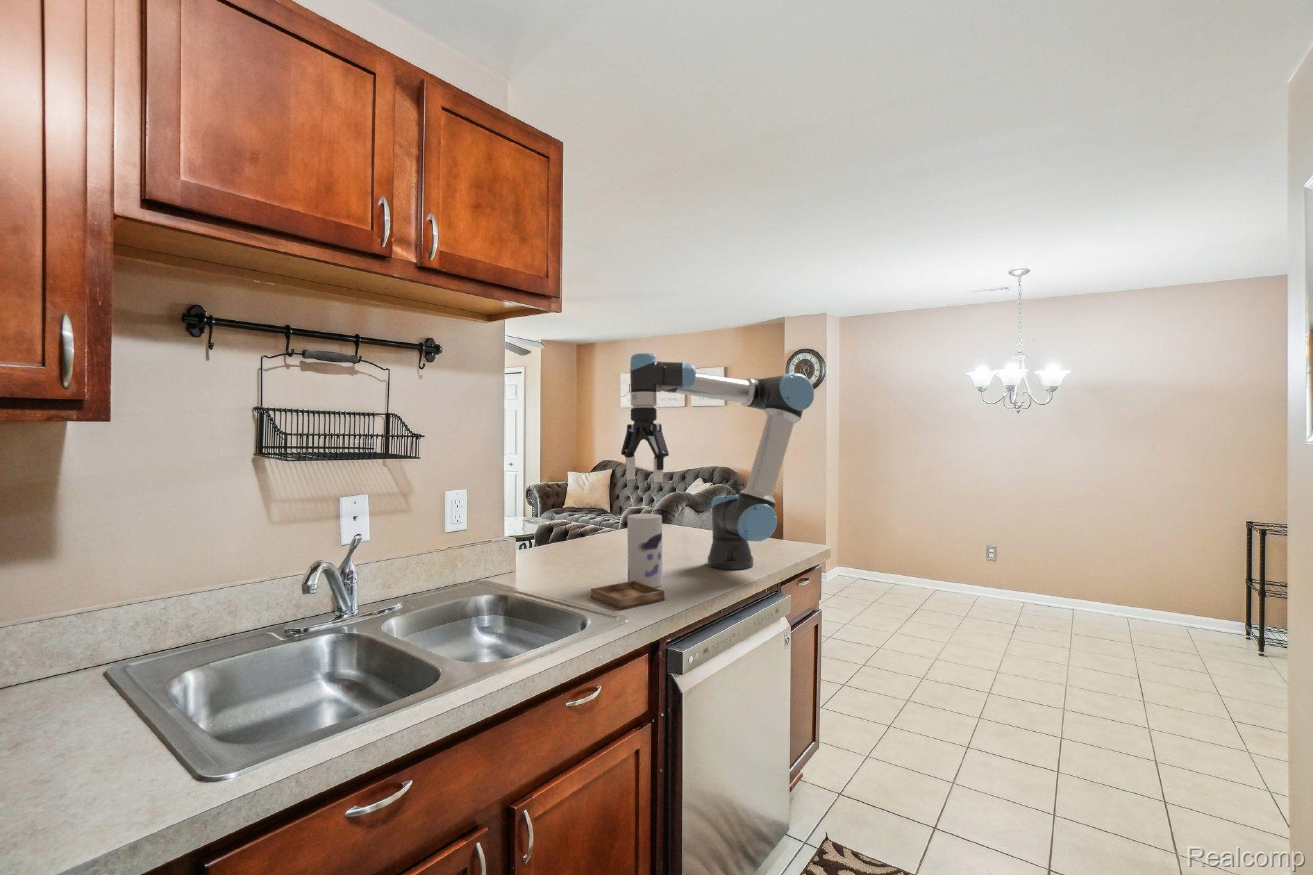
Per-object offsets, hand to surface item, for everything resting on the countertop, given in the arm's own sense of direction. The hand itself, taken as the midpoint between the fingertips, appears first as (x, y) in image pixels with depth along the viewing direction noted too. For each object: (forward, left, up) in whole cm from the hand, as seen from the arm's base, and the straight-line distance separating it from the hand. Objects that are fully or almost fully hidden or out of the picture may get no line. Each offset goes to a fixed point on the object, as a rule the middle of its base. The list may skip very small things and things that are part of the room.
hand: (644, 480), depth 173 cm
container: (0, 0, -30) cm, 30 cm away
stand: (+13, +10, -30) cm, 34 cm away
